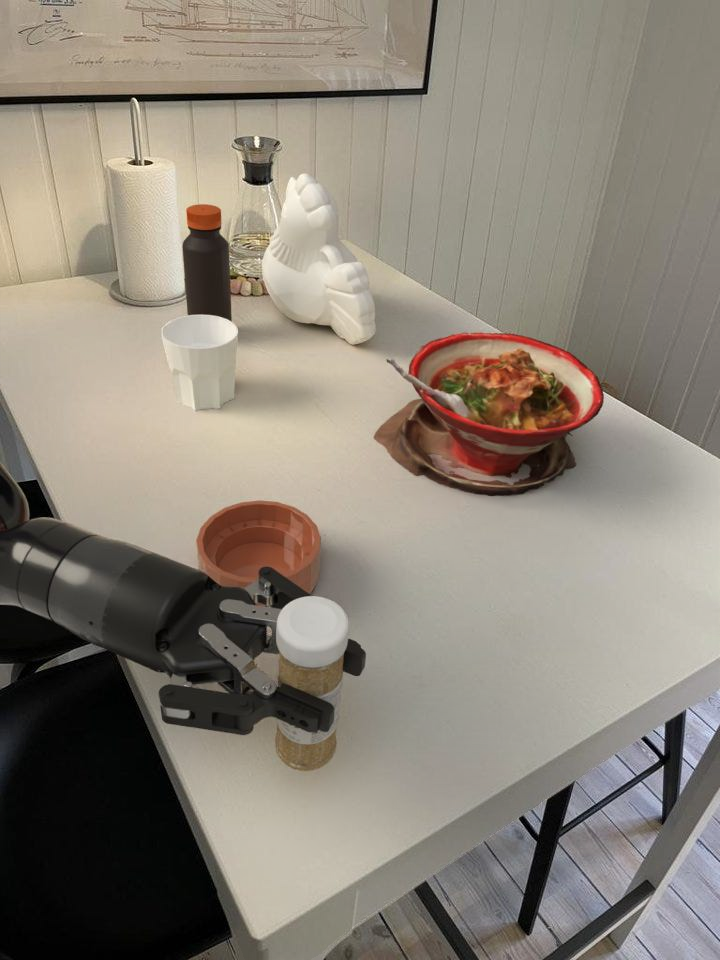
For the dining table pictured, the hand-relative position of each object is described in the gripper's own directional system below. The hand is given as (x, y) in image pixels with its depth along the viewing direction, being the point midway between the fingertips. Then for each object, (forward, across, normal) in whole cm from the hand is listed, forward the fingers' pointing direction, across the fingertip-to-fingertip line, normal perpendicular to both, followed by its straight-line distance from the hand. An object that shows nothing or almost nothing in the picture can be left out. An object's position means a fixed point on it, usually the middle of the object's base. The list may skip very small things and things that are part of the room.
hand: (347, 690), depth 49 cm
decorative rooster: (-39, +75, +14) cm, 86 cm away
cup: (-43, +47, +15) cm, 65 cm away
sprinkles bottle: (-3, 0, +8) cm, 9 cm away
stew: (-4, +52, +15) cm, 55 cm away
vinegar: (-52, +63, +15) cm, 83 cm away
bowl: (-18, +20, +15) cm, 31 cm away
